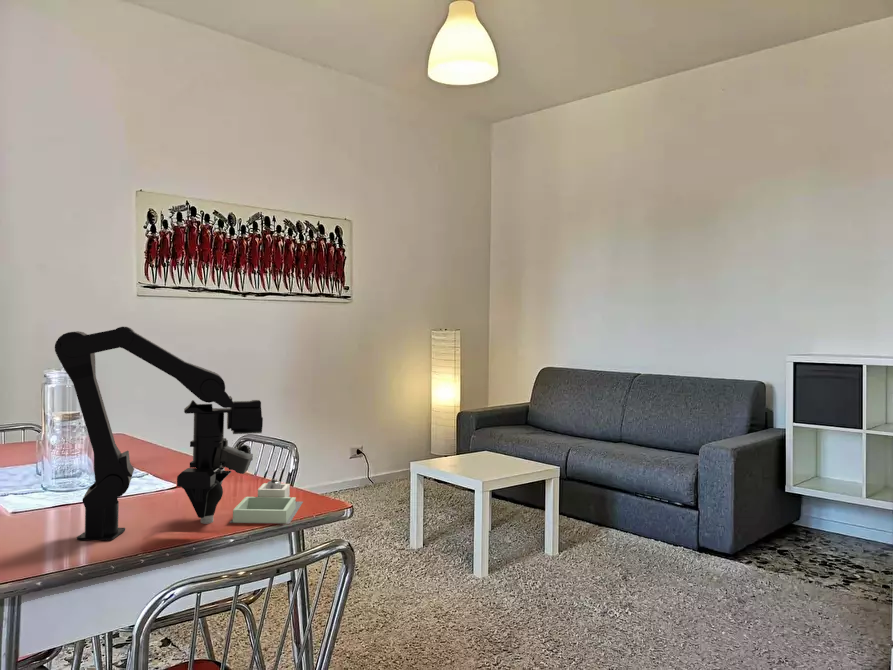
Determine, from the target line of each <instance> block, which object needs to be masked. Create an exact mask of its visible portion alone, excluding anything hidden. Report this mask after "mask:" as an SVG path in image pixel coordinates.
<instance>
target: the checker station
mask: <svg viewBox="0 0 893 670" xmlns="http://www.w3.org/2000/svg"><path fill="white" fill-rule="evenodd" d="M290 485H291V484H290V483H281V489H267V488H268V482H267V483H266V482H265V483H262V484H261V486H259V487H258V488H257V496H245V497H243V499H242V500H241V502H239V503H238V504H237V505H236V506H235V507H234V508H233V509H232V519H231V520H230V521H229V522H228V523H229V524H274V525H275V524H279V525H280V524H281V525H286V524H287V525H288V524H290V523H291V522H292V521H293V519H294V518H295V515H297V512H298V511H299V509H300V508H301V506H302V504H303V503H304V501H296V499H297V497H296V496H295V497H293V496H292V497H291V496H290V489H291V487H290Z"/></svg>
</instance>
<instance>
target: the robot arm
mask: <svg viewBox="0 0 893 670" xmlns="http://www.w3.org/2000/svg"><path fill="white" fill-rule="evenodd" d="M118 348H121V349H124V350H125V351H127V352H129V353H131V354H133V356H136V357H137V358H140V359H141V360H143V361H145V362H146V363H148V364H150V365H151V366H153V367H155V368H157V369H158V370H160V371H163V372H164V373H165V374H166V375H167V374H168V375H169V376H171V377H173V378H174V379H176V380H177V381H178V382H179V383H181V385H182V386H184V387H185V388H186V389H187V390H188V391H189V392H190V393H191V394H193V396H195V397H196V398H198V399H199V400H200V401H202V402H205V403H196V401H195V400H191V402H190V403H189V404H188V405H187V406H186V407H185V408H183V409H184V410H183V412H184V414H186V415H187V414H193V436H192V437H193V439H192V440H191V441H189V447H190V448H192V460H191V461H190V462H189V467H188V468H186V469H184V470H182V471H181V472H180V473H179V474H178V475H177V477H176V487H178V488H181V489H183V490H184V493H186V495H187V497H188V499H189V501H190V503H191V505H192V507H193V510H194V511H195V514H196V516H197V518H198V519H199V518H200V519H201V518H204V517H205V512H206V507H207V501H208V496H209V491H210V490H211V489H212V488H213V487H214V486H215V485H216V484H217V483H215V479H216V480H217V481H219V482H220V484H221V486H222V485H223V481H224V480H225V479H226V478H227V477H228V476H229V475H231V473H232V471H235V473H237V474H241V475H243V474H245V473H246V472H247V471H249V468H250V465H251V463H252V461H253V459H254V458H253V457H254V456H253V455H254V454H253V453H251V446H249V445H248V444H242V445H241V446H239V447H238V448H237V447H231V446H229V445H228V444H229V443H228V441H229V440H227V437H224V433H225V432H224V431H225V430H224V429H225V425H224V424H225V414H227V415H226V429H227V430H230V431H232V435H246V434H247V435H251V434H262V433H263V421H264V420H263V419H264V418H263V416H262V415H263V414H262V413H263V412H262V401H261V400H260V399H251V400H241V401H240V400H234V401H233V397H232V396H231V395H228V393H227V392H226V385H225V383H226V382H225V381H224V379H223V378H222V376H221V375H220V374H218V373H216V372H215V371H212V370H209V369H207V368H204V367H201V366H198V365H196V364H192V363H190V362H187V361H185V360H183V359H182V358H179V357H178V356H177V355H174V354H173V353H171V352H170V351H168V350H166V349H165V348H163V347H162V346H159V345H157V344H156V343H154V342H153V341H151V340H149V339H148V338H146V337H143V336H142V335H140V334H139V333H137V332H135V331H134V329H132V328H131V327H130V326H129V327H128V326H119V327H117V328H115V329H110V330H105V331H101V332H95V333H90V334H87V333H85V332H83V331H69V332H66V333H63V334H62V335H60V336H59V337H58V339H57V340H56V341H55V344H54V352H55V354H56V356H57V359H58V361H59V362H60V364H61V366H62V368H63V370H64V371H65V372H66V374H67V375H68V377H69V379H70V381H71V382H72V385H73V388H74V391H75V395H76V397H77V401H78V403H79V408H80V410H81V414H82V417H83V420H84V424H85V429H86V431H87V435H88V438H89V441H90V444H91V448H92V451H93V465H94V466H93V472H94V483H92V484H91V485H90V486H89V487H88V489H87V490H86V491H85V494H84V496H83V498H82V503H83V507H84V532H83V533H81V534H79V535H78V536H76V540H78V541H88V540H89V541H112V540H114V539H115V538H116V537H118V536H120V535H121V534H122V533H124V532H125V531H126V527H119V510H120V509H119V506H120V505H119V504H120V503H119V502H120V501H119V500H118V498H119V497H122V496H123V495H124V494H126V493H127V491H128V489H129V488H130V484H131V480H132V476H133V475H134V471H135V468H134V466H133V465H132V463H131V460H130V453H129V452H130V451H129V450H126V451H123V452H121V451H120V449H119V448H118V446H117V444H116V442H115V438H114V435H113V432H112V427H111V424H110V420H109V417H108V413H107V410H106V406H105V404H104V400H103V397H102V393H101V390H100V387H99V382H98V380H97V373H96V353H102V352H104V351H109V350H113V349H114V350H115V349H118ZM212 403H215V404H217V405H218V406H220V407H221V408H220V407H218V408H214V407H213V404H212ZM225 468H226V469H227V470H225ZM231 470H232V471H231Z"/></svg>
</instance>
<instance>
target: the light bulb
mask: <svg viewBox="0 0 893 670" xmlns="http://www.w3.org/2000/svg"><path fill="white" fill-rule="evenodd" d="M215 483H217V484H216V485H215V486H214V487H213V488H212V489H211V490H210V491H209V496H208V501H207V507H206V512H205V517H204V518H200V524H205V525H207V524H212V523H214V516H215V513H216V508H217V505H218V504H219V503H220V501H221V499H222V497H223V494H224V488H223V486H222V485H221V484H220V482H219V481H217V480H216V479H215Z"/></svg>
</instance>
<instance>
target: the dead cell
mask: <svg viewBox="0 0 893 670" xmlns="http://www.w3.org/2000/svg"><path fill="white" fill-rule="evenodd" d="M267 483H268V488H267V489H281V484H282V482H281V481H280V480H278V479H277V478H271V480H269V481H267Z"/></svg>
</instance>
